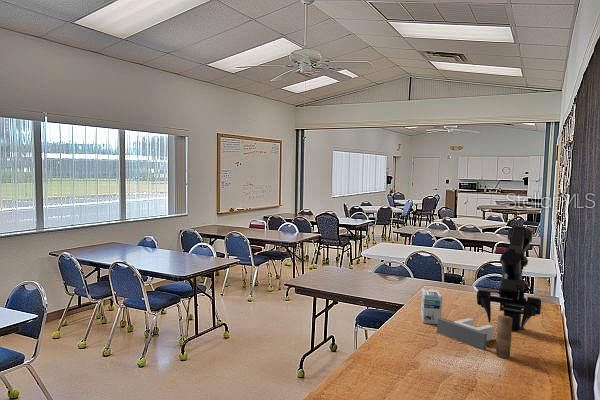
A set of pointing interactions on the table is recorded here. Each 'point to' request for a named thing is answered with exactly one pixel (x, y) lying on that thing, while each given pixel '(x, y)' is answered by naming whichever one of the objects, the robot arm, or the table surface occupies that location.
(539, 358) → the table surface
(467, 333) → the backstop wall
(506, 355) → the dowel
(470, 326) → the socket block
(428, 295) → the light bulb box
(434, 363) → the table surface
